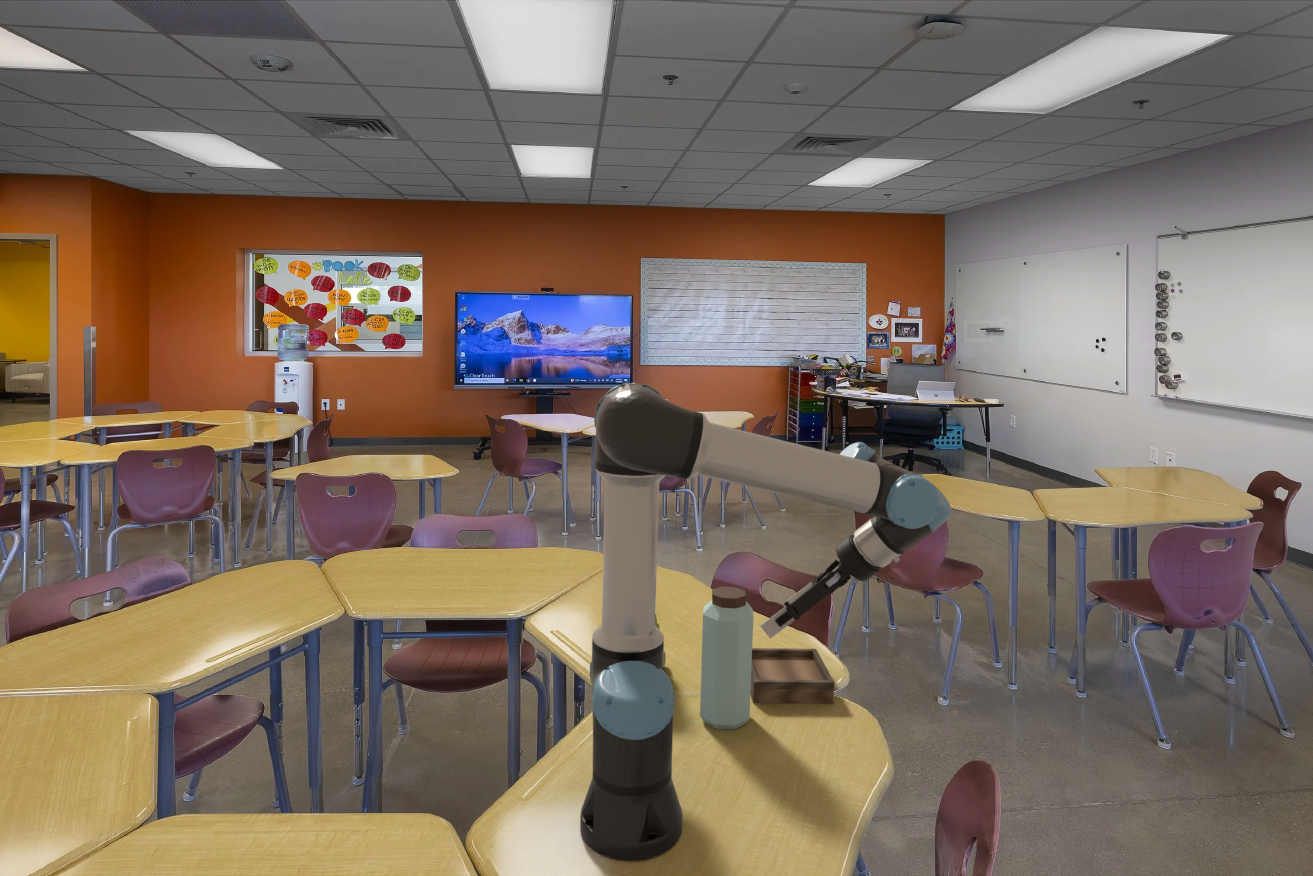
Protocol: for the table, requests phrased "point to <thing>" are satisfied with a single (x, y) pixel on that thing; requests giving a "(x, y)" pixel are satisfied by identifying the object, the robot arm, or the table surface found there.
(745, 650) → the water bottle
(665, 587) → the table surface
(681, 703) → the table surface
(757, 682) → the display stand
